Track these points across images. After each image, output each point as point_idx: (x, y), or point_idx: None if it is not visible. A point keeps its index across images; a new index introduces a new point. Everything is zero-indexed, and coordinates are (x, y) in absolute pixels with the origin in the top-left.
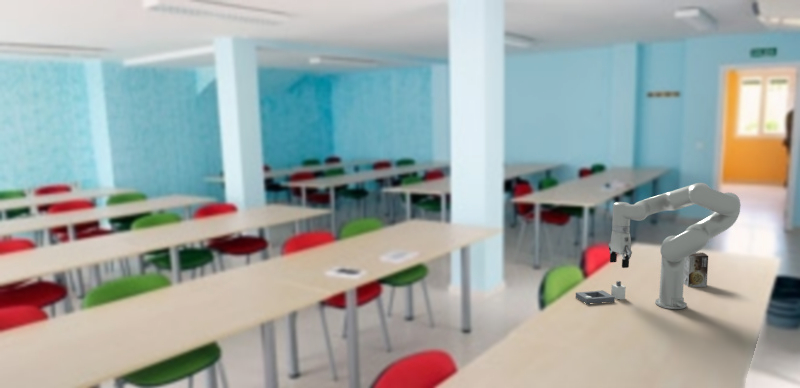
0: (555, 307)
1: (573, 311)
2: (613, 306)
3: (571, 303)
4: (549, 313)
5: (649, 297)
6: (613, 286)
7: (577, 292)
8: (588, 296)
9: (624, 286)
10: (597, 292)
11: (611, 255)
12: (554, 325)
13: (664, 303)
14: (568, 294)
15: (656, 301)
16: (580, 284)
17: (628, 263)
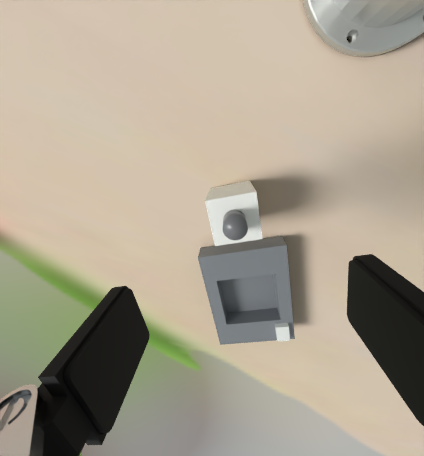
0: (296, 391)
1: (338, 368)
2: (325, 256)
3: (271, 353)
4: (336, 412)
5: (238, 40)
6: (231, 241)
7: (219, 339)
8: (280, 333)
9: (251, 195)
10: (216, 280)
11: (113, 418)
12: (418, 425)
13: (420, 9)
14: (188, 336)
15: (354, 43)
16: (77, 274)
17: (410, 288)
